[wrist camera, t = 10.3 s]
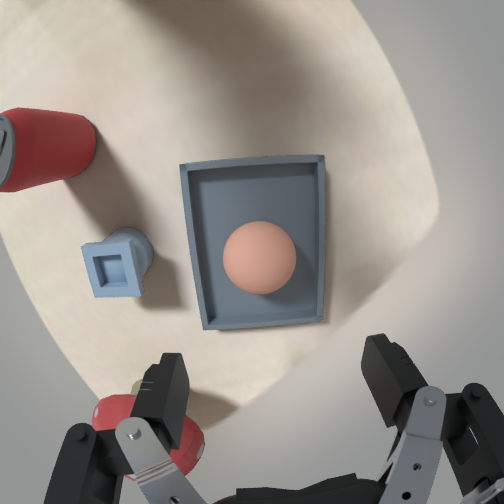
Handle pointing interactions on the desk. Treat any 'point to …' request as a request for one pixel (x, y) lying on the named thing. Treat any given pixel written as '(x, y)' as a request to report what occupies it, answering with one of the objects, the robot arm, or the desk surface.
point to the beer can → (42, 147)
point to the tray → (249, 210)
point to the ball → (259, 257)
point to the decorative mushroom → (120, 409)
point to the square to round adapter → (118, 263)
